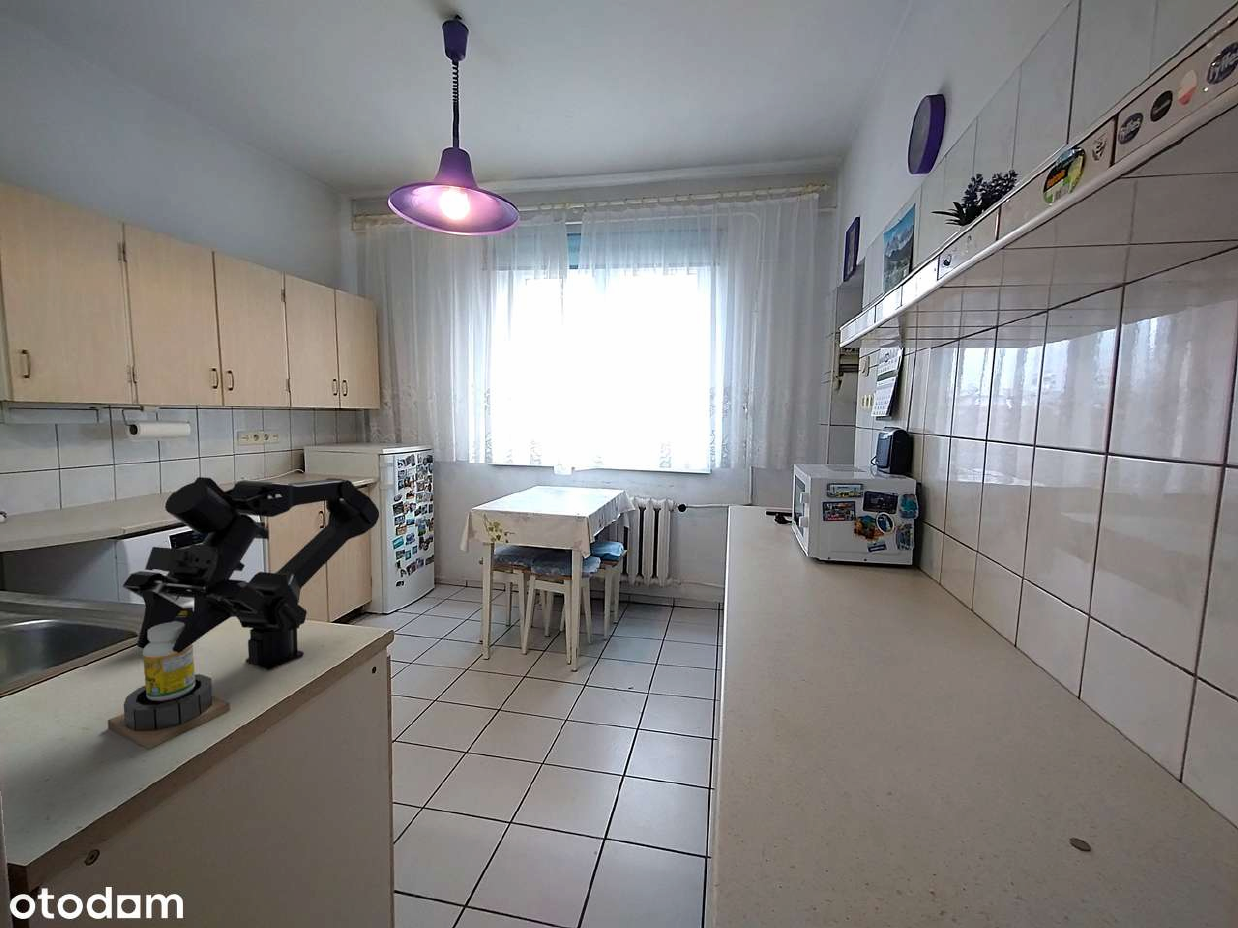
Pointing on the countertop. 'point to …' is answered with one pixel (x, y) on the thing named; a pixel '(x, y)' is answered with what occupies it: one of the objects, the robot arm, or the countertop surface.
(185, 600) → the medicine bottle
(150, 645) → the supplement bottle
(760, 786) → the countertop surface
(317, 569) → the robot arm
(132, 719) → the socket holder
